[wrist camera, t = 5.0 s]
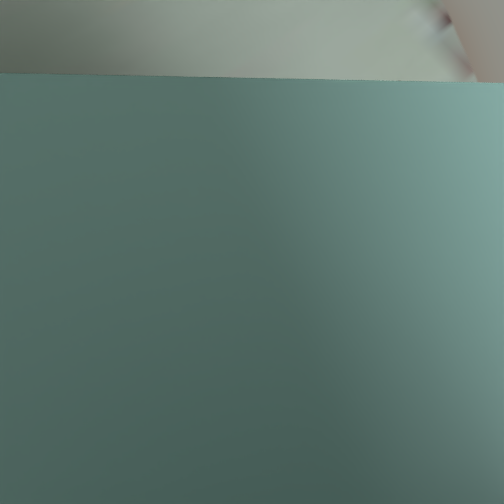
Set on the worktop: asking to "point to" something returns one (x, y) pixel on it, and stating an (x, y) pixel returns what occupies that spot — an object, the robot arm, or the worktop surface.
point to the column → (250, 290)
